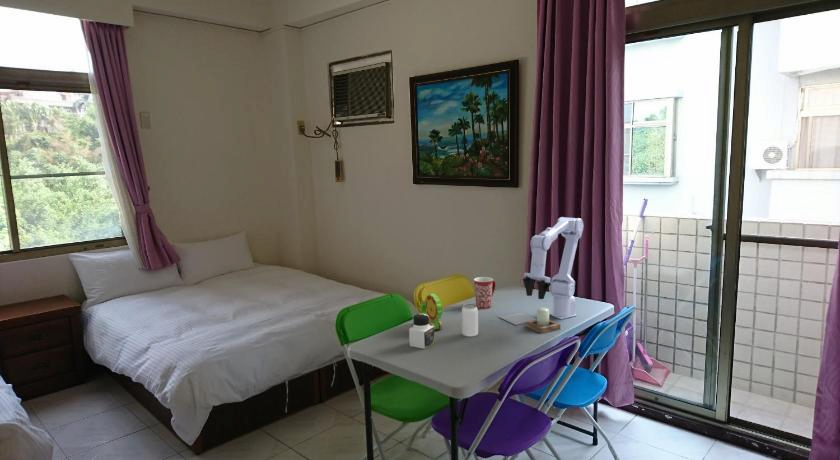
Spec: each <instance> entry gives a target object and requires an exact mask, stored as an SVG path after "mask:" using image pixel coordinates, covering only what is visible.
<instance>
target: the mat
mask: <svg viewBox="0 0 840 460" xmlns="http://www.w3.org/2000/svg"><path fill="white" fill-rule="evenodd" d="M498 317H499V319H501V320H503V321H505V322H508V323H510V324H511V325H514V326H519V325H520V326H521V325H524V324H525V325H526V322H527V321H532V320H536V319H537V317H536V318H535V317H533V316H531V315H528V314H526V313H523V312H522V311H521V312H515V313H511V314H507V315H501V316H498Z"/></svg>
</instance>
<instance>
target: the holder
mask: <svg viewBox="0 0 840 460" xmlns="http://www.w3.org/2000/svg"><path fill="white" fill-rule="evenodd" d="M525 327H526V328H529V329H531V330H532V331H535V332H537V333H539V334H545V333H549V332H553V331H554V332H555V331H558V330H561V324H560V323H558V322H555V321H553V320H551V319H549V325H548V326H544V327H541V326H538V325H537V318H536V320H532V321H527V322H526V323H525Z"/></svg>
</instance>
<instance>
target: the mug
mask: <svg viewBox="0 0 840 460" xmlns="http://www.w3.org/2000/svg"><path fill="white" fill-rule="evenodd" d="M473 281H474V282H473V283H474V293H475V295H474V296H475V305H476V306H477V309H482V310H484V309H485V310H486V309H490V308H492V306H493V305H492V301H493V295H494V294H495V289H496V281H495V280H494V279H493V277H489V276H480V277H475V278H473Z"/></svg>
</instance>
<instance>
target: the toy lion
mask: <svg viewBox="0 0 840 460" xmlns="http://www.w3.org/2000/svg"><path fill="white" fill-rule="evenodd" d="M420 314H426V315H428V316H429V325H430V326H434V331H436V330H439V331H440V330H442V329H443V327H444V326H443V322H442V320H440V319H441V317H442V315H443V306H442V303H441V299H439V297H438V295H437V294H436V293H429V294H427V295H426V298H425V299H424V300H423V301H422V302H421V304H420Z"/></svg>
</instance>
